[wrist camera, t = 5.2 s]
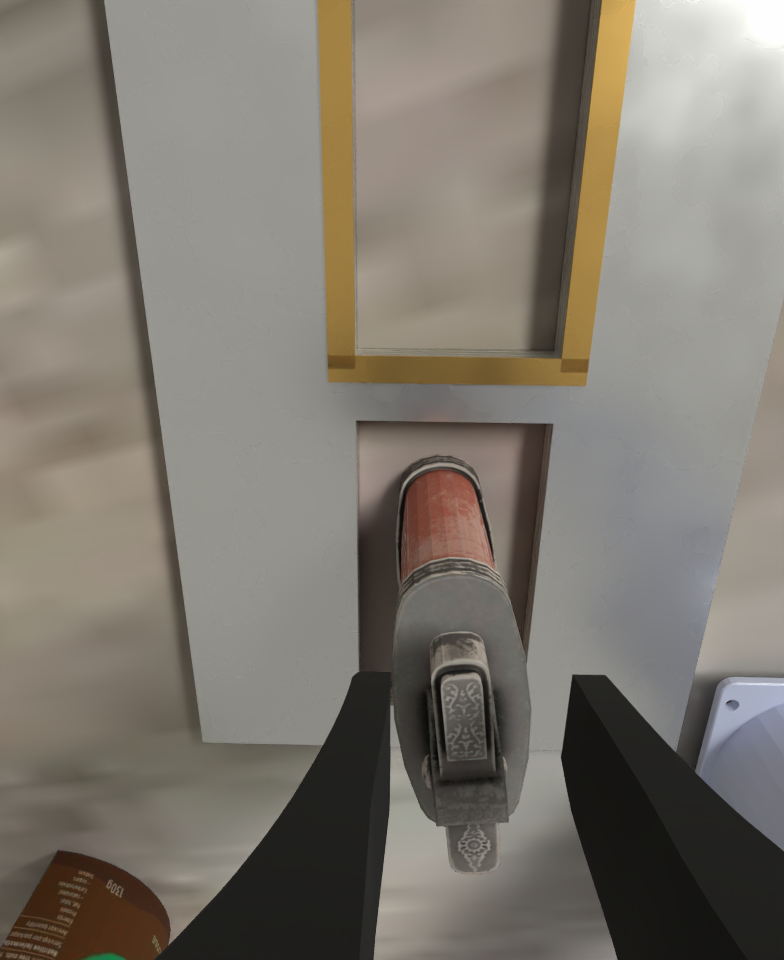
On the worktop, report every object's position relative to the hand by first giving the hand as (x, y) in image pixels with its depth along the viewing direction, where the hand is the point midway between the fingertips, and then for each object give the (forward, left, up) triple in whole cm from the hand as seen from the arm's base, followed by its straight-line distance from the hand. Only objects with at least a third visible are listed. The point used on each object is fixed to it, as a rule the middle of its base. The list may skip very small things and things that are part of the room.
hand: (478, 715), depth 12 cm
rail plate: (+4, 0, -11) cm, 11 cm away
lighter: (-3, 0, -11) cm, 11 cm away
